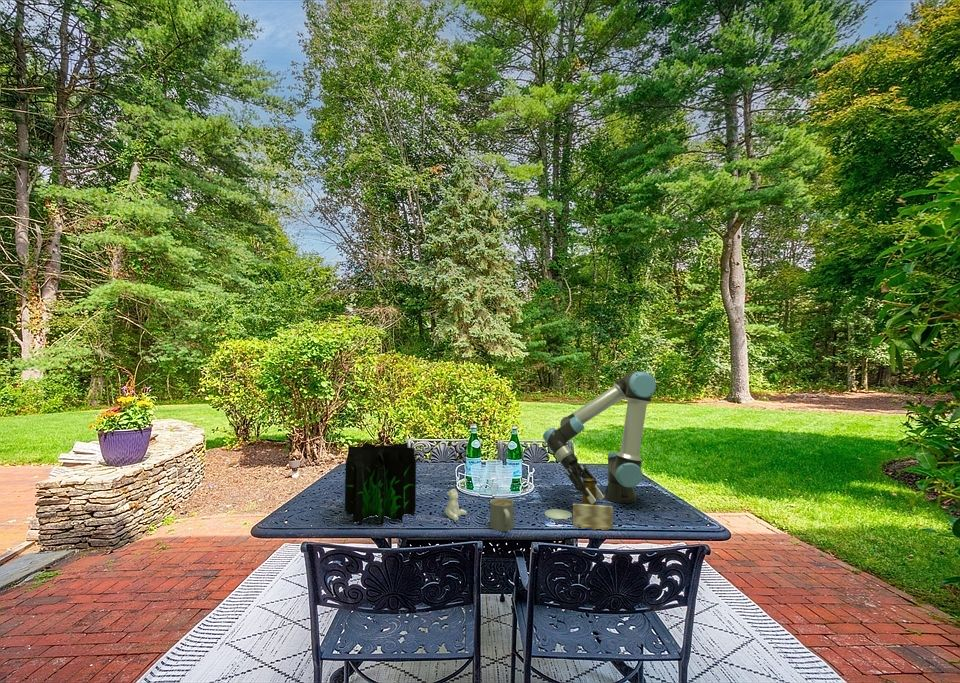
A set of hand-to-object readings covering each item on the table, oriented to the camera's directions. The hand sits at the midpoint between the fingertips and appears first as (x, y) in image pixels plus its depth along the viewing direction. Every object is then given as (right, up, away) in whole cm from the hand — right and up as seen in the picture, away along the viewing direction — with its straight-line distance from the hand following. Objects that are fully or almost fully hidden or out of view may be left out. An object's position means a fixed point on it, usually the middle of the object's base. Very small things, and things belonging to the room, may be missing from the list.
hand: (598, 500), depth 192 cm
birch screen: (-5, -7, -11) cm, 14 cm away
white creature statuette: (-64, -8, +1) cm, 64 cm away
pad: (-17, -8, +3) cm, 19 cm away
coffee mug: (-43, -7, -12) cm, 45 cm away
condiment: (-3, -4, +2) cm, 5 cm away
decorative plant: (-97, -8, +3) cm, 97 cm away
